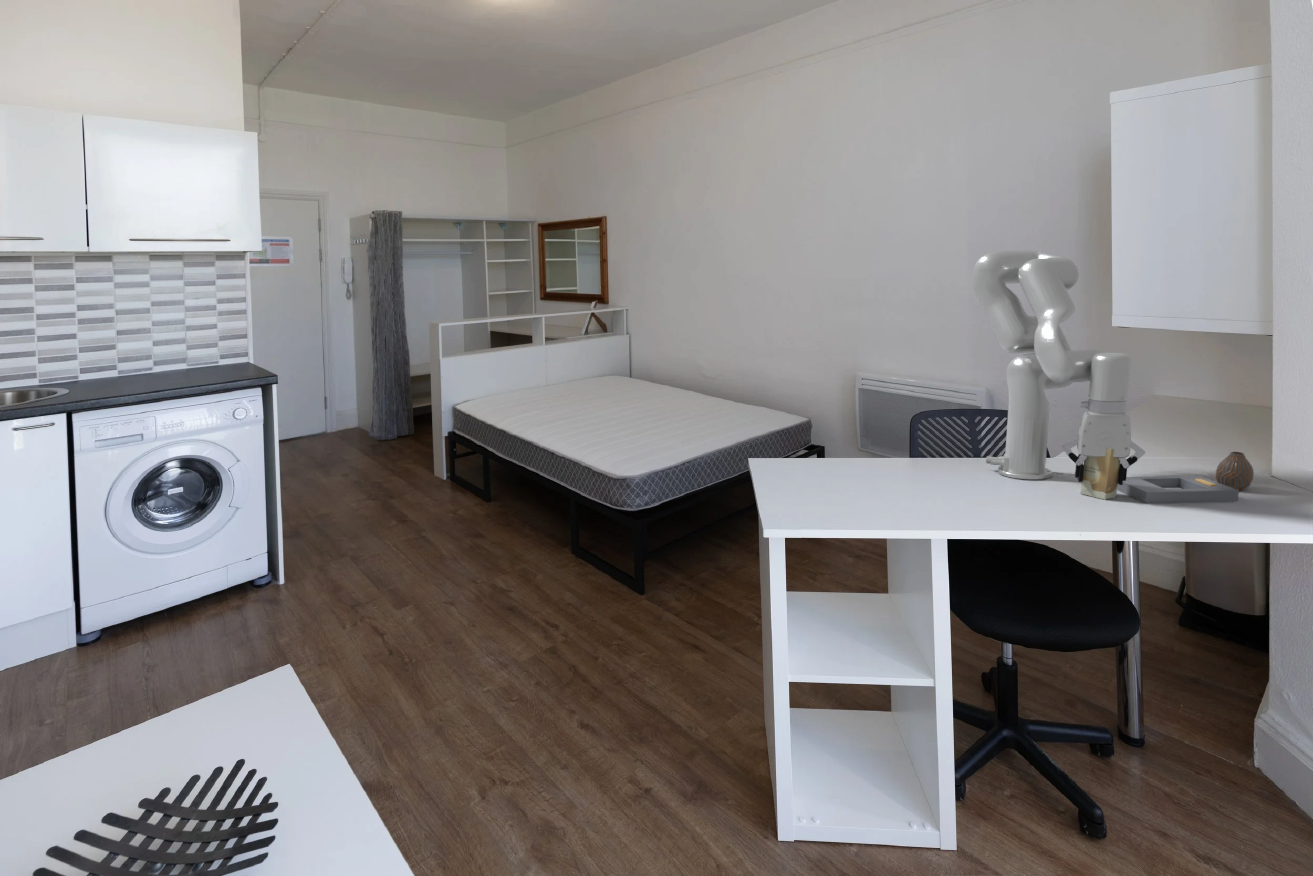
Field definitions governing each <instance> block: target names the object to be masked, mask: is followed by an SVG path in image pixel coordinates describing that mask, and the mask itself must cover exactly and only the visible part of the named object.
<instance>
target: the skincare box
mask: <svg viewBox="0 0 1313 876" xmlns="http://www.w3.org/2000/svg"><path fill="white" fill-rule="evenodd" d="M1113 453H1114V449H1113V448H1108V449H1107V448H1106V455H1105V457H1088V456H1087V458H1086V459H1085V460H1084V461H1083V466H1084V471H1083V482H1080V489H1079V494H1082V495H1086V496H1090V497H1094V498H1097V499H1101V500H1105V501H1106V500H1110V499H1113V498H1116V497H1117V491H1118V490H1117V485H1118V477H1119V469H1120V464H1121V462H1120V460H1119V458H1114V457H1113Z"/></svg>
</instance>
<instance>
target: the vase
mask: <svg viewBox="0 0 1313 876" xmlns="http://www.w3.org/2000/svg"><path fill="white" fill-rule="evenodd" d="M1254 474H1255V473H1254V468H1253V466H1252V464H1251V462H1250V461H1249V460H1248V459H1247V457H1246V455H1245V452H1242V451H1241V452H1240V451H1231V452H1229V454H1228V455H1227V456H1226V457H1225V458H1223V459H1222V460H1221V461H1220V462H1219V464H1218V465H1217V467H1216V470H1215V480H1216V482H1217V483H1220V484H1223V485H1226V486H1228V487H1231V488H1234V489H1237V490H1239V492H1241V491H1244V490H1247V488H1249V486H1251V485H1252V483H1253V479H1254Z"/></svg>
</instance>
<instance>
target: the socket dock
mask: <svg viewBox="0 0 1313 876" xmlns="http://www.w3.org/2000/svg"><path fill="white" fill-rule="evenodd" d="M1117 491H1119V492H1121V493H1123V494H1126V495H1128V496H1130V497H1132V498H1133V499H1136V500H1138V501H1141V502H1143V503H1144V504H1153V503H1154V504H1157V503H1158V504H1160V503H1161V504H1162V503H1163V504H1165V503H1166V504H1167V503H1205V502H1207V503H1208V502H1209V503H1210V502H1211V503H1213V502H1238V501H1239V493H1240V491H1239V490H1237V489H1234V488H1231V487H1228V486H1226V485H1223V484H1220V483H1218V482H1217V481H1214V480H1211V479H1209V478H1206V477H1203V476H1201V475H1160V476H1159V475H1158V476H1156V475H1154V476H1153V475H1152V476H1126V481H1123V485H1119V484H1118V485H1117Z"/></svg>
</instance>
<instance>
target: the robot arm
mask: <svg viewBox="0 0 1313 876" xmlns="http://www.w3.org/2000/svg"><path fill="white" fill-rule="evenodd" d="M1079 274H1080V272H1079V269H1078V267H1077V265H1076V263H1075V262H1074V261H1073V260H1071V259H1070V258H1068V257H1067V256H1066V257H1065V256H1061V255H1056V254H1051V253H1047V252H1043V251H1039V250H1037V251H1036V250H1032V249H1031V250H1030V249H1029V250H1028V249H1027V250H1025V249H1024V250H998V251H992V252H989V253H986V254H983V255H982V256H981V257H979V258H978V260H977V261H976V263H975V265H974V267H973V271H972V275H971V281H972V287H973V290H974V294H975V296H976V297H977V299H978V301H979V303H980V304H981V306H982V308H983V309H984V311H985V313H986V316H987V318H988V321H989V324H990V326H991V329H992V330H993V333H994V336H996V339H997V341H998V344H999V346H1000V349H1002V350H1003V351H1004V352H1006V353H1008V354H1021V355H1018V356H1015V357H1014V358H1012V359H1011V361H1010V362H1009V363H1008V365H1007V367H1006V370H1005V371H1006V372H1005V373H1006V374H1005V376H1006V383H1007V390H1008V391H1007V393H1008V406H1007V407H1008V409H1007V422H1006V423H1007V425H1006V437H1005V438H1006V441H1005V453H1003V455H1000V456H999V457H996V456H995V457H994V456H989V455H987V456H986V458H985V459H986V460H985V464H990V465H991V466H997V472H998V474H1000V475H1001V476H1005V477H1008V478H1012V479H1019V480H1044V479H1048V478H1051V477H1052V475H1053V474H1052V473H1053V472H1052V470H1051V469H1049V468H1047V467H1046V463H1047V462H1046V461H1047V451H1048V437H1049V425H1050V413H1051V412H1050V411H1051V410H1050V403H1049V400H1048V399H1049V398H1048V397H1047V395H1046V392H1045V390H1056V389H1063V388H1066V387H1068V386H1070V385H1072V383H1085V382H1089V389H1088V398H1087V400H1085V401H1080V408H1083V409H1086V411H1084V412H1083V413H1082V414H1083V415H1082V417H1081V422H1080V425H1079V431H1078V436H1077V437H1075V438H1074V439H1071V441H1069V442H1066V443H1065V444H1064V445H1062V446H1061V447H1062V450H1063V451H1064V453H1065V454H1066V456H1068V458H1070V460H1071V461H1073V462H1074V464H1075V471H1074V478H1077V480H1078V483H1081V482H1083V471H1084V466H1083V464H1084V460H1085V459H1086V458H1087V456H1088V457H1105V455H1106V448H1107V449H1108V448H1113V449H1114V453H1113V457H1114V458H1119V460H1120V469H1119V477H1118V484H1119V485H1123V481H1126V477H1128V476H1127V474H1128V469H1129V468H1130V467H1131V466H1132V465H1134V464H1136V463H1137V462H1138V460H1139V459H1141V458H1142V457H1143V456H1144V455H1145V454H1146V451H1145V450H1144V449H1143V448H1142V447H1140V446H1139V445H1138V444H1136V443H1135V442H1134V441H1133V440H1132V420H1131V414H1129V413H1127V407H1128V406H1127V404H1128V397H1129V395H1128V394H1129V385H1130V378H1131V377H1130V375H1131V365H1132V359H1131V357H1130V355H1128V354H1127V353H1123V352H1105V351H1101V350H1097V349H1073V350H1072V349H1071V346H1070V345H1069V342H1068V341H1067V339H1066V336H1065V334H1064V331H1063V330H1062V328H1061V326H1060V324H1062V323H1064V322H1065V321H1067V320H1068V319H1069V318H1070V317H1072V316H1073V315H1074V313H1075V311H1076V305H1075V303H1074V301H1073V300H1072V297H1071V295H1070V293H1069V290H1071V289H1073V288H1074V287H1075V286H1076V284H1077V282H1078V280H1079ZM1006 284H1011V285H1012V284H1020V287H1021V290H1022V291H1023V294H1024V295H1025V298H1026V300H1027V302H1028V304H1029V306H1030V308H1031V310H1032V312H1033V314H1034V315H1029V314H1028V313H1027V312H1026V310H1025V309H1024V307H1023V305H1022V302H1021V299H1019V297H1018V296H1017V294H1016V293H1015V292H1014V291H1012V290H1011V289H1010V288H1009V287H1008V286H1007V285H1006ZM1076 446H1077V451H1078V455H1076V454H1075V453H1074V452H1073V451H1072V448H1074V447H1076ZM1131 449H1132V450H1133V451H1134V453H1133V454H1132V455H1130V454H1131Z"/></svg>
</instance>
